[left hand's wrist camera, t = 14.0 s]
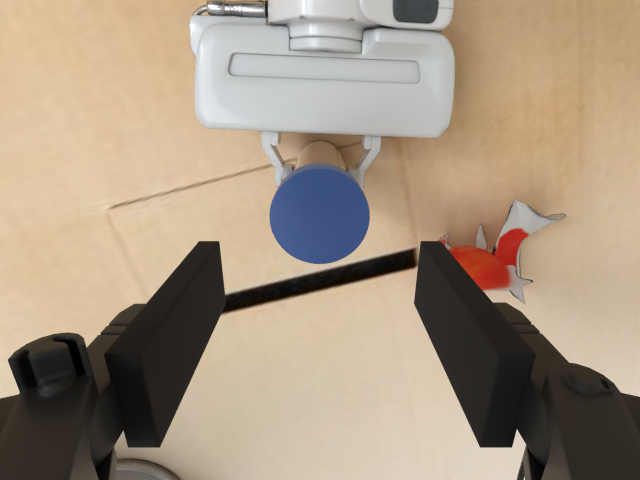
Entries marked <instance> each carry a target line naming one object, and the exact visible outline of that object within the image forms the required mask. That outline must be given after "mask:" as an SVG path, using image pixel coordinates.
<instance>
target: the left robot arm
mask: <svg viewBox="0 0 640 480" xmlns="http://www.w3.org/2000/svg"><path fill="white" fill-rule="evenodd" d="M225 304H226V300H225V291H224V282H223V272H222V263H221V254H220V245H219V241H199V242H198V243H197V245H196V246H195V247H194V248H193V249H192V250H191V252H190V253H189V254H188V255H187V256H186V258H185V259H184V260H183V261H182V262H181V263H180V265H179V266H178V267H177V268H176V269H175V271H174V272H173V273H172V274H171V275H170V276H169V278H168V279H167V280H166V281H165V282H164V284H163V285H162V286H161V287H160V288H159V289H158V291H157V292H156V293H155V294H154V295H153V297H152V298H151V299H150V300H149V301H148V302H147V304H133V305H132V306H130V307H128V308H127V309H125V310H123V311H122V312H120V313H119V314H118V315H117V316H116V317H115V318H114V319H113V320H112V321H111V322H110V323H109V326H107V327H106V328H105V329H104V330H103V331H102V332H101V335H98V336H97V337H96V338H95V339H94V341H93V342H92V343H91V344H90V345H89V346H88V347H87V348H86V345H85V341H84V338H83V337H82V336H80V335H79V334H75V333H59V334H53V335H49V336H46V337H42V338H39V339H37V340H35V341H32V342H30V343H28V344H26V345H25V346H23V347H22V348H20V349H18V350H17V351H15V352H14V354H13V355H12V356H11V357H10V358H9V359H8V362H9V365H10V367H11V370H12V372H13V375H14V378H15V380H16V383H17V386H18V388H19V391H20V393H19V395H15V396H10V397H5V398H1V399H0V480H179V479H178V478H177V477H176V476H175V475H173V474H172V473H171V472H169V471H168V470H166V469H164V468H162V467H160V466H158V465H155V464H153V463H149V462H145V461H140V460H117V457H116V451H115V448H114V445H115V443H116V442H117V440H118V438H119V437H120V435H121V433H122V432H123V430H124V433H125V437H126V441H127V445H128V447H160V446H161V444H162V441H163V439H164V437H165V435H166V433H167V431H168V428H169V426H170V424H171V422H172V420H173V418H174V415H175V413H176V411H177V409H178V407H179V404H180V402H181V400H182V398H183V396H184V394H185V391H186V389H187V387H188V385H189V383H190V381H191V378H192V376H193V374H194V372H195V370H196V367H197V365H198V363H199V361H200V359H201V357H202V354H203V352H204V350H205V348H206V346H207V344H208V341H209V339H210V337H211V335H212V333H213V331H214V328H215V326H216V324H217V322H218V320H219V317H220V315H221V313H222V311H223V309H224V307H225ZM414 304H415V307H416V309H417V311H418V313H419V315H420V317H421V320H422V322H423V324H424V326H425V328H426V331H427V333H428V335H429V337H430V339H431V341H432V344H433V346H434V348H435V350H436V352H437V354H438V357H439V359H440V361H441V363H442V365H443V367H444V370H445V372H446V374H447V376H448V378H449V381H450V383H451V385H452V387H453V389H454V391H455V394H456V396H457V398H458V400H459V402H460V404H461V407H462V409H463V411H464V413H465V415H466V418H467V420H468V422H469V424H470V426H471V428H472V431H473V433H474V435H475V437H476V439H477V441H478V444H479V446H480V447H512V445H513V441H514V437H515V433H516V430H518V431H519V433H520V435H521V436H522V438H523V440H524V441H525V443H526V448H525V451H524V455H523V459H522V462H521V466H520V469H519V473H518V477H517V480H523V479H524V476H525V480H640V397H638V396H633V395H628V394H624V393H620V391H619V390H618V388H617V387H616V386H615V384H614V383H613V382H611V381H610V380H609V379H608V378H606V377H605V376H604V375H602V374H600V373H598V372H596V371H594V370H592V369H590V368H588V367H585V366H582V365H578V364H574V363H569V362H568V361H567V360H566V359H565V358H564V357H563V356H562V355H561V354H560V353H559V352H558V350H557V349H556V348H555V347H554V346H553V345H552V344H551V343H550V342H549V341H548V340H547V339H546V338H545V337H544V336H543V335H542V334H540V331H539V330H538V329H537V328H536V327H535V326H534V325H531V322H530V321H529V320H528V319H527V318H526V317H525V316H524V314H523V313H522V312H520V311H519V310H517V309H515V308H514V307H512V306H510V305H509V304H507V303H493V302H492V301H491V300H490V299H489V298H488V297H487V295H486V294H485V293H484V292H483V291H482V289H481V288H480V287H479V286H478V285H477V284H476V282H475V281H474V280H473V279H472V278H471V276H470V275H469V274H468V273H467V272H466V271H465V269H464V268H463V267H462V266H461V265H460V263H459V262H458V261H457V260H456V259H455V258H454V256H453V255H452V254H451V253H450V252H449V250H448V249H447V248H446V247H445V246H444V245H443V243H442V242H441V241H421V245H420V254H419V263H418V272H417V282H416V291H415V300H414Z"/></svg>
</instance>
